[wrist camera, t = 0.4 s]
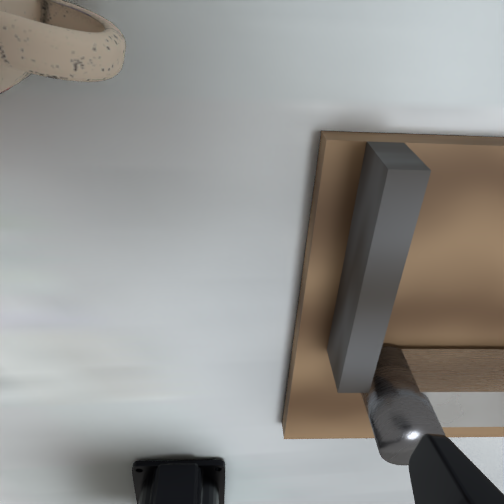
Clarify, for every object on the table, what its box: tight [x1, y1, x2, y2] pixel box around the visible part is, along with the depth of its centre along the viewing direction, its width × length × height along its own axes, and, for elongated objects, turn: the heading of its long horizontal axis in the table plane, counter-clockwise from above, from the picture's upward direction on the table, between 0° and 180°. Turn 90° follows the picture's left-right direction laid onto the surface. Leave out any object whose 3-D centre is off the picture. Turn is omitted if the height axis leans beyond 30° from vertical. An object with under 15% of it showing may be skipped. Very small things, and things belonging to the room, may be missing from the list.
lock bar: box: [361, 346, 504, 465], centre depth 24 cm, size 14×3×5 cm, turn 87°
